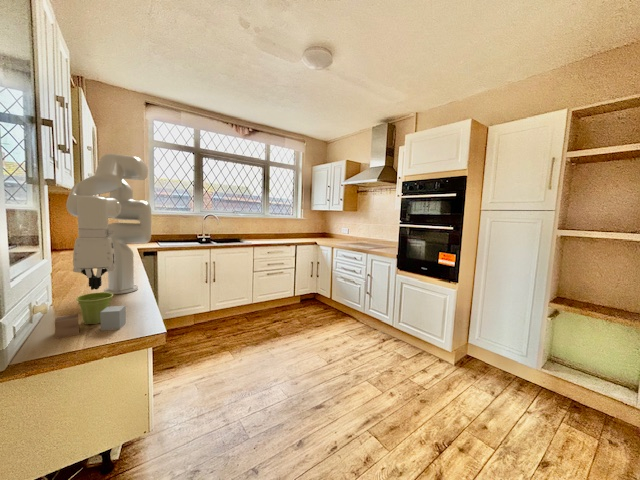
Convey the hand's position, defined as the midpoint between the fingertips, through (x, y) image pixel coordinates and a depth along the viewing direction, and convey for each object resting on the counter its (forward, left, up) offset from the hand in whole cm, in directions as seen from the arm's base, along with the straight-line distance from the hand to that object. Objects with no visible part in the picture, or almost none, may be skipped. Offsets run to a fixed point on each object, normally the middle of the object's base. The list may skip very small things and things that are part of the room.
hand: (95, 288), depth 88 cm
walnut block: (+8, -5, -11) cm, 15 cm away
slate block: (+7, +6, -11) cm, 15 cm away
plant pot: (0, 0, -12) cm, 12 cm away
